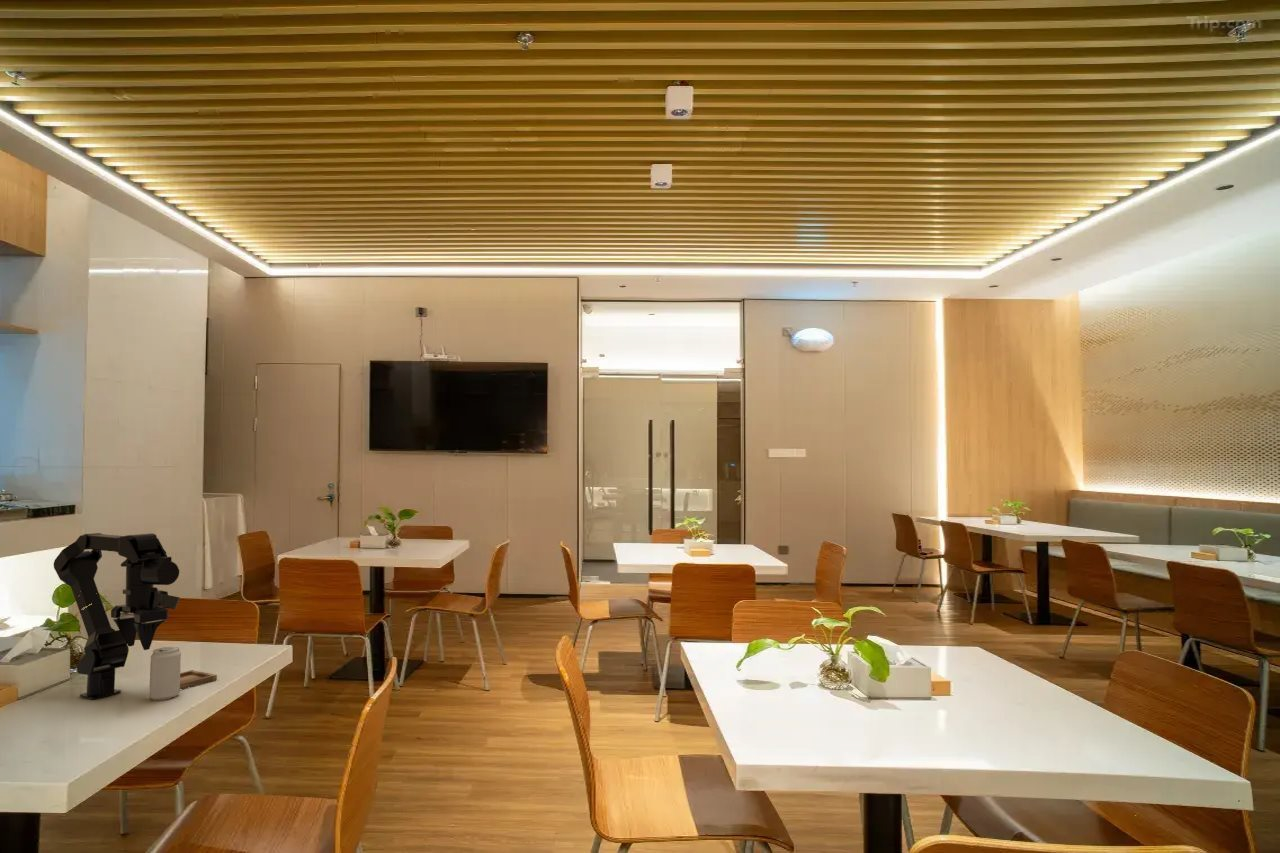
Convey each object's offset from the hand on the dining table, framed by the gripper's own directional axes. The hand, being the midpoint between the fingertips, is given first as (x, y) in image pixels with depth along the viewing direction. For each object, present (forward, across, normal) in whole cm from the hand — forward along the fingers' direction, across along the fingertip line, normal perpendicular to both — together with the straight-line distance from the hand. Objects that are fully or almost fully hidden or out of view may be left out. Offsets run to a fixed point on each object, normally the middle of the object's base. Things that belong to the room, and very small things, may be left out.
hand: (138, 647), depth 178 cm
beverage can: (+13, -2, -5) cm, 14 cm away
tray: (+13, +7, -13) cm, 20 cm away
